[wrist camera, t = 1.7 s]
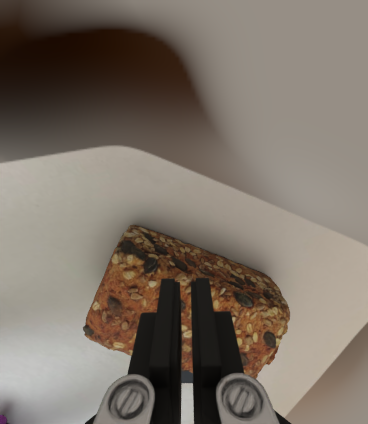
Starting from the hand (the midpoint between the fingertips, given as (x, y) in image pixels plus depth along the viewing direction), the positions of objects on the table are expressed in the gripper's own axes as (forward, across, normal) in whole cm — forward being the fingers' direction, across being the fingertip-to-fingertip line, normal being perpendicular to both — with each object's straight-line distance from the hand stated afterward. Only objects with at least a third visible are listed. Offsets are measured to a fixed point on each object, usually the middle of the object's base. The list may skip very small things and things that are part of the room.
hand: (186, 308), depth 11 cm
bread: (+19, 0, +12) cm, 23 cm away
